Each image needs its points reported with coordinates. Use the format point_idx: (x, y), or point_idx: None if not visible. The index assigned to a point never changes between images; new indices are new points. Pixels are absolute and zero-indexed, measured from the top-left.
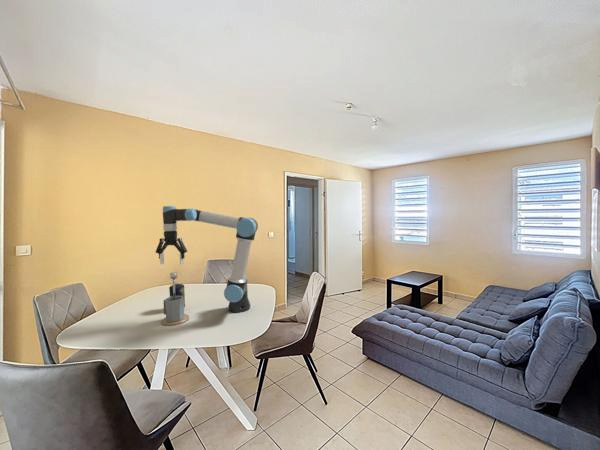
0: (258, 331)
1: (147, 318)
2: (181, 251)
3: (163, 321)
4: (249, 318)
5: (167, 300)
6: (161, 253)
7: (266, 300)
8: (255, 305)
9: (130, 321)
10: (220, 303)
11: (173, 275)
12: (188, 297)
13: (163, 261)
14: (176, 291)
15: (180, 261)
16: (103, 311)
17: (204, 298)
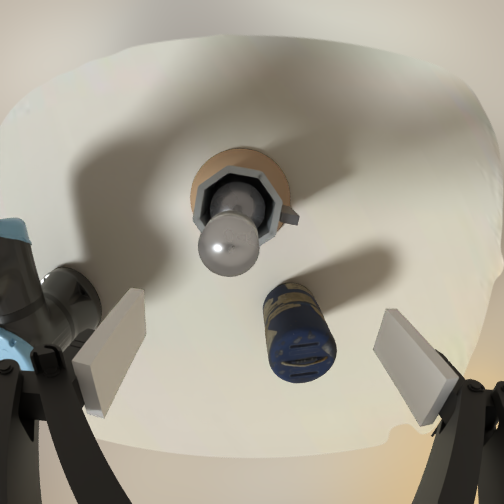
0: None
1: (356, 217)
2: (39, 386)
3: (274, 176)
4: None
5: (273, 206)
6: (444, 407)
7: None
8: None
9: (398, 194)
10: (152, 350)
11: (215, 217)
12: (301, 401)
13: (384, 354)
14: (289, 322)
15: (124, 302)
16: (494, 275)
17: (237, 394)
